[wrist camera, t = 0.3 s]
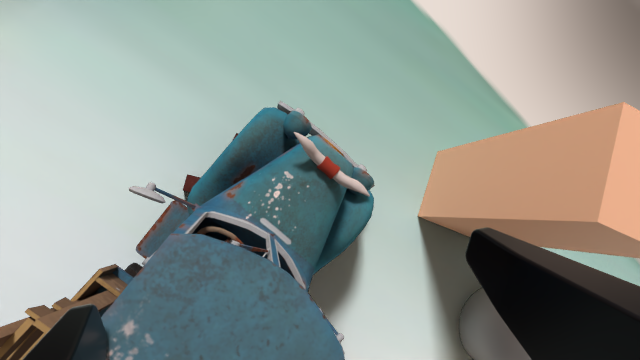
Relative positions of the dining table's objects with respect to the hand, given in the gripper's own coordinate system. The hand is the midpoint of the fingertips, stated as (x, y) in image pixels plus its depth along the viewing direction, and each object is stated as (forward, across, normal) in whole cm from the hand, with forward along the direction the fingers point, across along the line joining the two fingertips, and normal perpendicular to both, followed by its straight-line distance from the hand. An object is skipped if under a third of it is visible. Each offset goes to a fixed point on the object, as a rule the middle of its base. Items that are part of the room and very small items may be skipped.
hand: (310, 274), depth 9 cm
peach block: (+13, -15, +8) cm, 21 cm away
